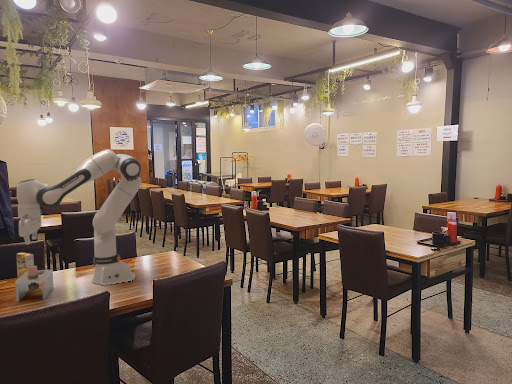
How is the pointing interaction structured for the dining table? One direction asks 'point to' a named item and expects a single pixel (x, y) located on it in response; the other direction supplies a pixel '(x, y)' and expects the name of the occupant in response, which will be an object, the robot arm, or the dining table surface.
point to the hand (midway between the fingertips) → (31, 241)
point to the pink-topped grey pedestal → (32, 274)
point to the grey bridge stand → (24, 281)
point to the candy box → (24, 262)
